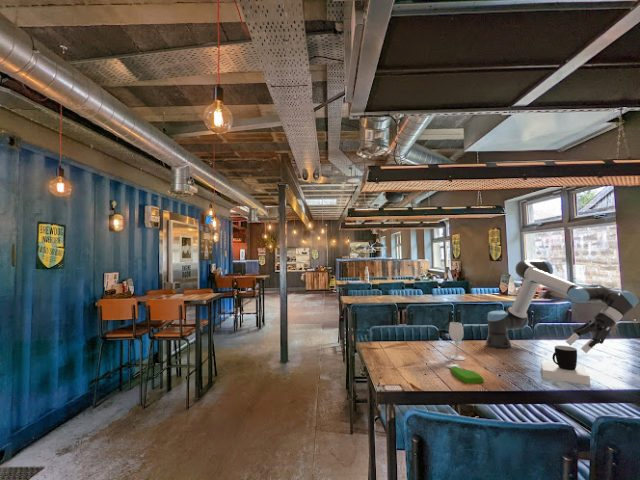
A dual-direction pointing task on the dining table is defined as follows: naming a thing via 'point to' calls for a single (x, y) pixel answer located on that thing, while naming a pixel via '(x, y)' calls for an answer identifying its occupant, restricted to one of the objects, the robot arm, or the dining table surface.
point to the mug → (565, 357)
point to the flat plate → (565, 373)
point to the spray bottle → (465, 374)
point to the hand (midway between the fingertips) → (575, 347)
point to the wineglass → (456, 337)
